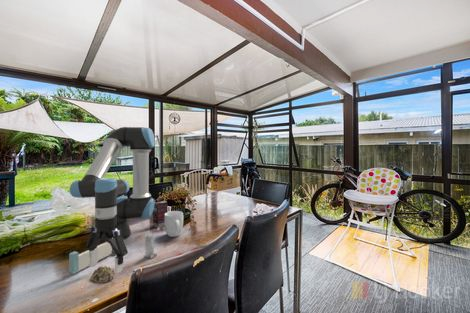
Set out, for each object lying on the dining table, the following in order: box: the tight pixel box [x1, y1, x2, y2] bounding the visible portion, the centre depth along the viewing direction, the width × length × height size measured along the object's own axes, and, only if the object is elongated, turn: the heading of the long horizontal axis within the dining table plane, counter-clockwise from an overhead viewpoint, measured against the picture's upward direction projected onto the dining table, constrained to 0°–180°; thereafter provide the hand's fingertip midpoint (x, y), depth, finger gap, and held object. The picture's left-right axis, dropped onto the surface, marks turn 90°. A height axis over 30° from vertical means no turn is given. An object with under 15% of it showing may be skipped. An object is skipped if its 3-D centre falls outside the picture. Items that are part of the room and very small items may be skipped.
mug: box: [164, 210, 184, 238], centre depth 124 cm, size 15×11×13 cm
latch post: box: [143, 235, 157, 260], centre depth 99 cm, size 4×4×10 cm
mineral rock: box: [90, 265, 115, 284], centre depth 83 cm, size 11×4×8 cm
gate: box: [68, 241, 112, 275], centre depth 92 cm, size 18×2×8 cm, turn 161°
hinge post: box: [109, 228, 117, 257], centre depth 102 cm, size 5×5×12 cm
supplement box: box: [152, 200, 168, 228], centre depth 141 cm, size 9×5×16 cm, turn 146°
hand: (106, 268), depth 84 cm, fingers open, 13 cm apart
